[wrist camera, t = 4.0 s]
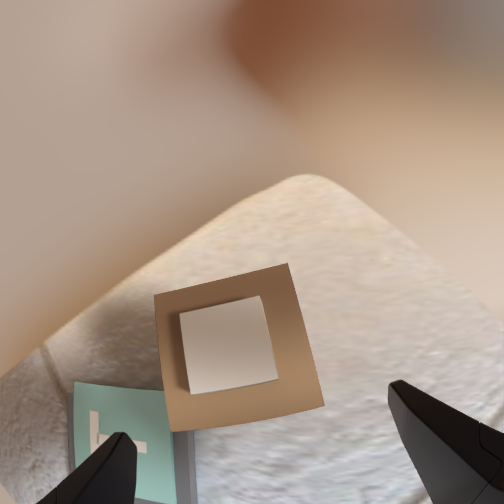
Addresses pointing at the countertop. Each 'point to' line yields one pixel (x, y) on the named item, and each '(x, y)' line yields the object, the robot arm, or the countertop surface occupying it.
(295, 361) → the brown wooden block
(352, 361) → the countertop surface
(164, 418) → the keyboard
